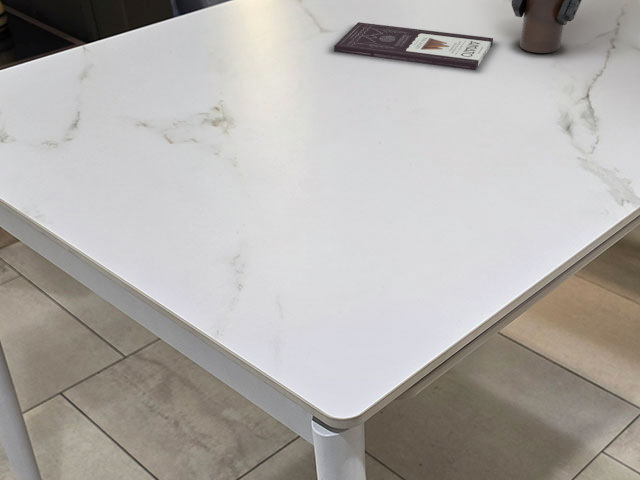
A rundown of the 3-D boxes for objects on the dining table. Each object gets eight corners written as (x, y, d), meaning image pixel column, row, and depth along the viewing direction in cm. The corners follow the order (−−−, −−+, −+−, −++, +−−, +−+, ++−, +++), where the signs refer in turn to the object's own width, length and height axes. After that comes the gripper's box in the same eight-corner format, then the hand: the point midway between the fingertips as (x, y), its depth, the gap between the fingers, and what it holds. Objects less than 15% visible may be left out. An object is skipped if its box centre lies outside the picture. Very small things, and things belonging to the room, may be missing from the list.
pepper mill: (556, 38, 108) (571, -44, 102) (562, 53, 104) (578, -31, 98) (517, 38, 108) (529, -43, 102) (521, 53, 105) (535, -31, 99)
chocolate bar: (358, 22, 114) (493, 38, 108) (358, 29, 115) (492, 45, 108) (334, 45, 108) (476, 64, 101) (334, 53, 109) (475, 71, 102)
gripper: (533, -137, 103) (476, -8, 103) (655, -126, 96) (594, 13, 96) (543, -100, 109) (489, 22, 109) (658, -87, 102) (601, 43, 102)
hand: (539, 17), depth 103 cm, fingers closed on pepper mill, 5 cm apart
